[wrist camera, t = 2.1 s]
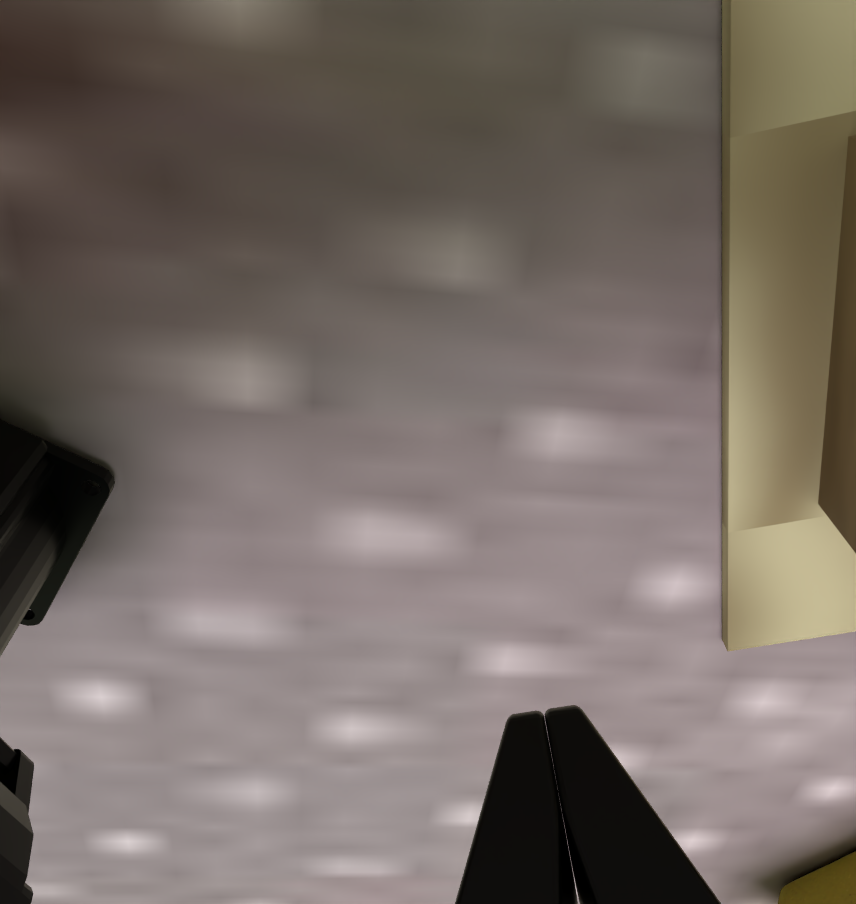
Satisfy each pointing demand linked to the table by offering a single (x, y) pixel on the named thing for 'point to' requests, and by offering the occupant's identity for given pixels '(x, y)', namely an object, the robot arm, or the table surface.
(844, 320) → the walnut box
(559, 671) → the table surface
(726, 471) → the board
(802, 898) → the flower pot
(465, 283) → the table surface
